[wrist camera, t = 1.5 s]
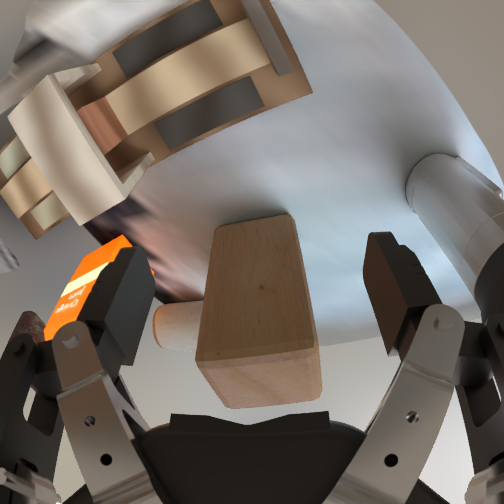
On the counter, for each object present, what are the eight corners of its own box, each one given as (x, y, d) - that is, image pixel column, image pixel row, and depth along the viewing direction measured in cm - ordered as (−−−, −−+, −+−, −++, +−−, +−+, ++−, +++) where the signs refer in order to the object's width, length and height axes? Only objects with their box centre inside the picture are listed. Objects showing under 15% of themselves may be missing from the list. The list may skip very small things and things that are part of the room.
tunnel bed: (254, -23, 21) (255, -56, 12) (310, 90, 29) (336, 111, 20) (-9, 164, 32) (-56, 201, 23) (40, 234, 39) (4, 282, 31)
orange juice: (83, 256, 42) (25, 366, 26) (122, 233, 40) (62, 356, 24) (115, 291, 46) (74, 401, 30) (155, 273, 44) (118, 397, 28)
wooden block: (292, 209, 38) (319, 347, 22) (302, 270, 43) (323, 402, 28) (212, 224, 39) (189, 363, 23) (232, 282, 45) (225, 412, 29)
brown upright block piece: (56, 329, 53) (23, 411, 37) (43, 337, 56) (12, 412, 40) (30, 305, 49) (-11, 387, 34) (18, 315, 52) (-19, 390, 36)
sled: (255, 6, 22) (256, -5, 17) (285, 67, 26) (294, 71, 21) (-1, 183, 32) (-26, 205, 27) (25, 220, 35) (3, 245, 31)
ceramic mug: (155, 295, 46) (144, 334, 40) (205, 289, 46) (199, 330, 40) (178, 336, 53) (172, 372, 47) (223, 332, 52) (220, 370, 46)
